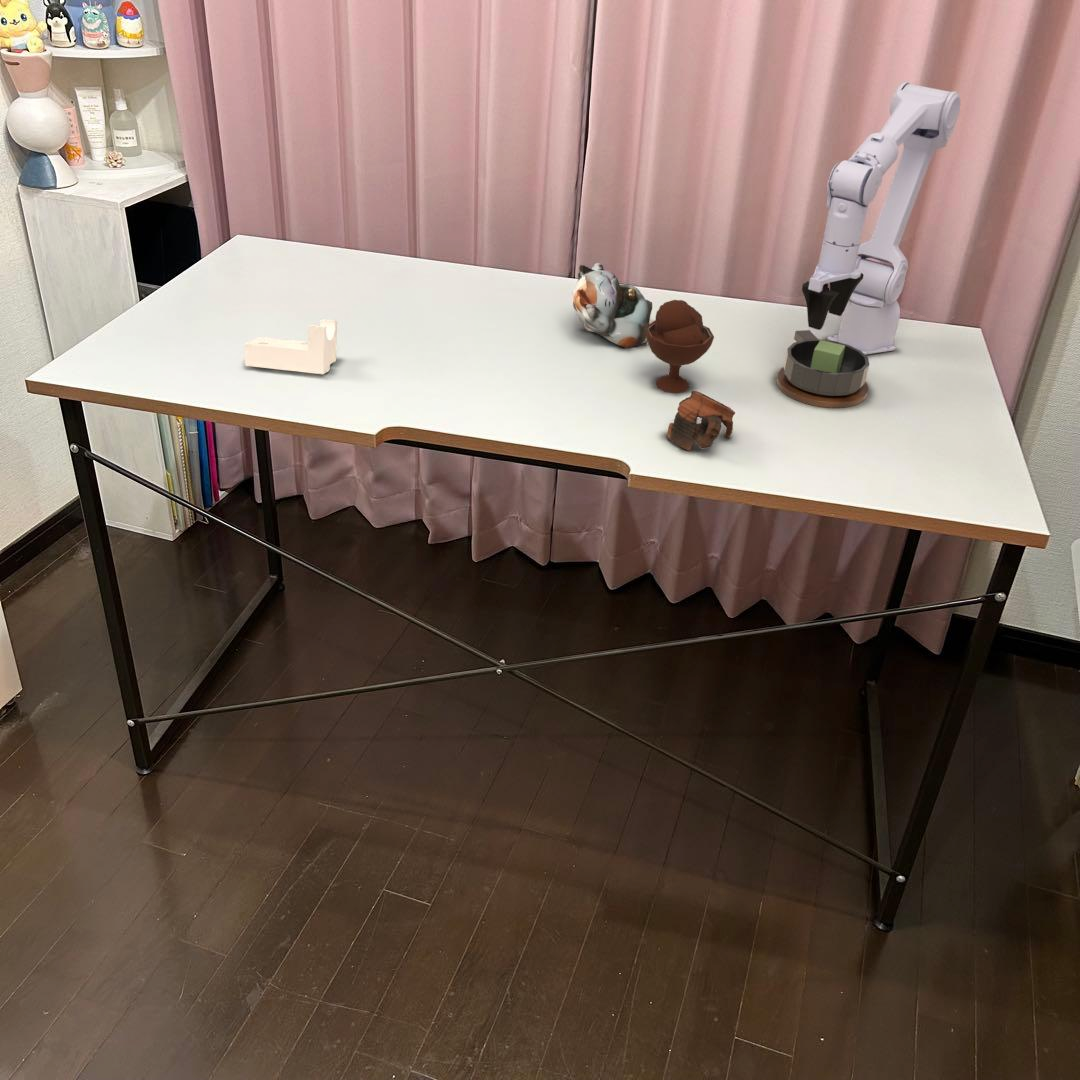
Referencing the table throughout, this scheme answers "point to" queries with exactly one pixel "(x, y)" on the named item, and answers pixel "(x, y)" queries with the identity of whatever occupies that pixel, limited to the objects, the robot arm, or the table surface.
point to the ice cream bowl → (677, 341)
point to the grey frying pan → (821, 381)
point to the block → (828, 356)
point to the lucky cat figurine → (611, 307)
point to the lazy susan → (820, 399)
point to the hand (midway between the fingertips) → (825, 320)
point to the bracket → (296, 350)
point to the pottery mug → (710, 426)
